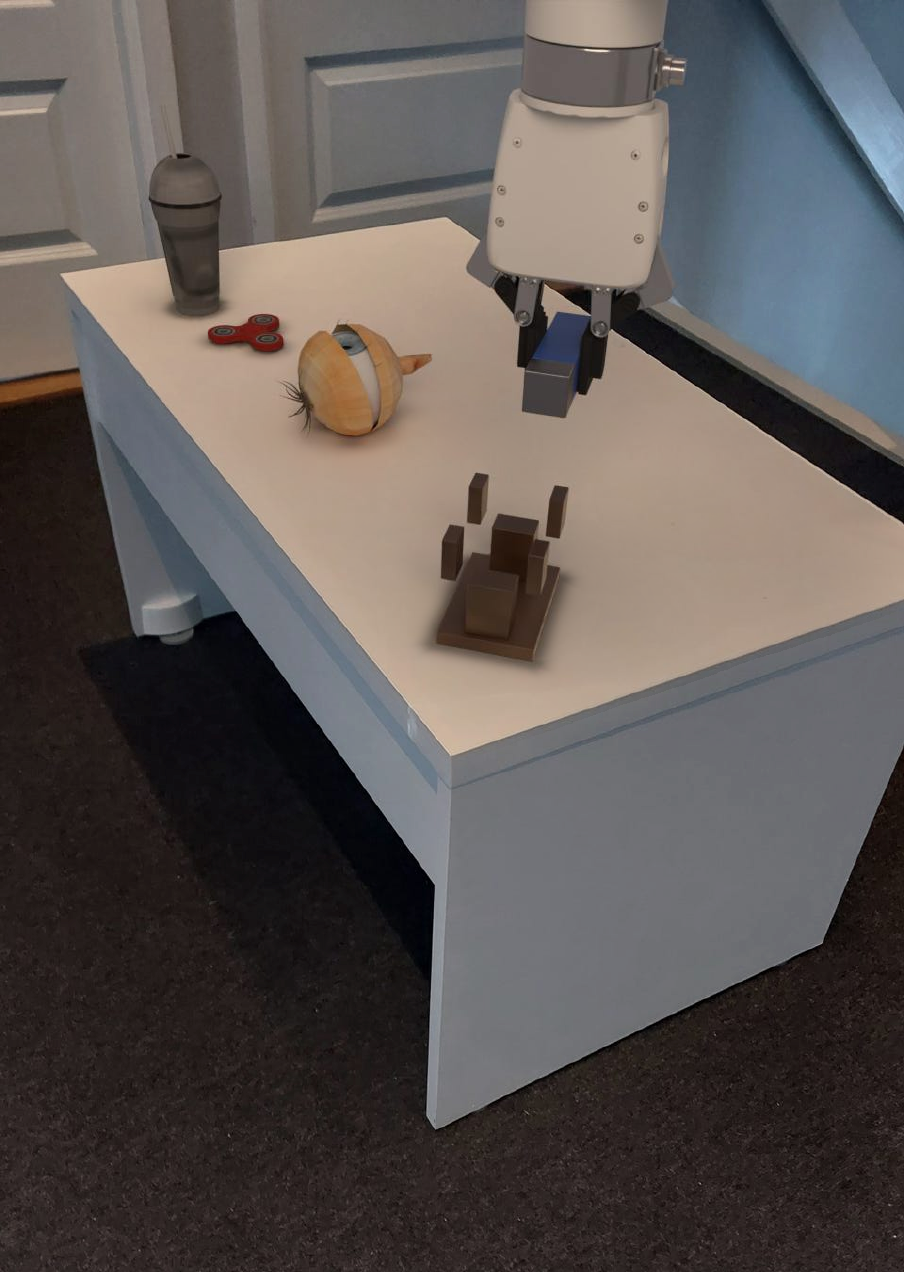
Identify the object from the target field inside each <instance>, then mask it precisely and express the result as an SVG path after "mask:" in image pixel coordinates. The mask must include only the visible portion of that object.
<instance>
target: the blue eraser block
mask: <svg viewBox="0 0 904 1272" xmlns="http://www.w3.org/2000/svg"><path fill="white" fill-rule="evenodd" d="M590 317H591V315H586V314H579V313H572V312H565V311H556V313H555V314H554V316H553V318H552V320H551V322H550V324H549V325H548V326H547V332H546V334H545V336H544V337H543V339H542V341H541V343H540V345H539V347H538V348H537V349H536V351H535V353H534V355H533V357H532V359H531V361H530V363H529V364H528V366H527V368H526V370H525V369H524V372H525V375H524V374H523V390H522V401H521V412H522V413H526V414H533V415H539V416H546V417H553V418H558V419H566V417H567V415H568V413H569V411H570V409H571V407H572V404H573V402H574V400H575V397H576V395H577V394H578V392H576V388H577V379H578V370H579V361H580V354H579V353H580V344H581V338H582V335H583V333H584V331H585V329H586V327H587V324H588V321H589V319H590Z"/></svg>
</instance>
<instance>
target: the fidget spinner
mask: <svg viewBox="0 0 904 1272" xmlns="http://www.w3.org/2000/svg"><path fill="white" fill-rule="evenodd" d="M278 328H280V319H279V317H278V316H277V315H274V314H271V313H258V314H253V315H251V316H249V317H248V318H247V322H245V323H243V324H242V325H231V324H230V325H229V324H220V325H214V326H212V327H210V328H209V329H208V330H207V338H208V340H209V341H210V342H212V343H215V344H230V343H234V342H245V343H249V344H250V345H251V347H252V348H253V349H255V350H258V351H263V352H270V351H276V350H280V349H281V348H283V346H284V343H285V341H284V337H283V336H282V334H279V333H276V332H272V331H274V330H276V329H278Z"/></svg>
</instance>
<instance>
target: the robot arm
mask: <svg viewBox="0 0 904 1272" xmlns="http://www.w3.org/2000/svg"><path fill="white" fill-rule="evenodd" d="M668 3H669V0H526V1H525V18H524V33H523V44H522V45H523V46H522V61H521V76H520V77H521V78H520V87H519V88H516V89H513V90H512V91H511V92H510V95H509V97H508V99H507V100H508V101H507V103H506V104H507V105H506V107H505V112H504V116H503V120H502V124H501V129H500V135H499V139H498V145H497V151H496V158H495V164H494V171H493V177H492V185H491V193H490V199H489V209H488V217H487V228H486V230H485V231H484V234H483V235H482V237H481V238H480V240H479V242H478V244H477V245H476V248H475V249H474V251H473V252H472V254H471V256H470V258H469V259H468V261H467V262H466V267H465V268H466V272H467V274H469V275H470V276H471V277H473V278H474V279H476V280H477V281H478V282H480V283H481V284H483V285H484V286H486V287H487V288H489V289H490V288H491V289H492V290H494V292H495V294H496V295H497V296H498V297H499V299H500V300H501V301H502V302H503V304H504V305H505V306H506V307H507V308H508V310H509V311H510V312H511V313H512V314H513V320H514V322H515V324H516V325H517V326H519V329H518V343H517V355H516V356H517V357H516V368H522V369H524V374H523V376H524V375H525V370H526V368H527V366H528V364H529V363H530V361H531V359H532V357H533V355H534V353H535V351H536V349H537V348H538V347H539V345H540V343H541V341H542V339H543V337H544V336H545V334H546V332H547V329H548V327H549V325H548V323H549V315H547V311H545V307H544V305H543V304H542V303H543V298H544V297H543V296H544V291H545V285H546V281H547V282H553V283H554V282H555V283H562V284H570V285H578V286H583V287H584V286H585V287H591V300H590V301H591V303H590V305H591V306H590V316H591V317H590V319H589V321H588V324H587V327H586V329H585V331H584V333H583V335H582V338H581V344H580V353H579V354H580V361H579V370H578V379H577V388H576V392H577V395H581V396H587V394H588V392H589V390H590V388H591V386H592V383H593V380H594V379H595V380H602V378H603V374H604V370H605V365H606V356H607V351H608V350H607V349H608V340H609V333H610V331H612V330H613V329H614V328H616V327H617V326H618V325H620V324H622V323H623V322H624V321H625V320H627V319H628V318H630V317H631V316H632V315H633V314H635V313H636V312H637V311H640V310H643V309H647V308H649V307H653V306H656V305H659V304H662V303H665V302H668V301H669V300H671V298H672V297H673V295H674V292H675V288H676V283H675V280H674V277H673V275H672V270H671V268H670V266H669V263H668V259H667V256H666V254H665V251H664V248H663V245H662V241H661V238H662V230H663V224H664V214H665V205H666V195H667V185H668V184H667V182H668V171H669V156H670V155H669V153H670V120H669V119H670V114H669V104H668V102H666V101H665V100H663V99H660V98H656V94H657V92H661V90H662V89H663V88H669V87H670V86H679V87H680V86H681V87H683V85H684V82H685V78H686V72H687V64H688V58H685V57H675V54H672V53H671V54H669V53H668V48H664V46H665V39H664V33H665V24H666V17H667V10H668ZM619 290H622V291H621V292H619V293H618V291H619Z"/></svg>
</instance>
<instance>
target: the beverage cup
mask: <svg viewBox="0 0 904 1272" xmlns="http://www.w3.org/2000/svg"><path fill="white" fill-rule="evenodd" d="M159 109H160V113H161V117H162V122H163V126H164V130H165V135H166V139H167V143H168V148H169V152H170V154H169V155H166V156H165V157H164V158H162V159H161V160H160V161H159V162H158V163H157V164H156V165H155V167H154V168H153V170H152V173H151V176H150V179H149V180H150V181H149V184H148V185H149V187H148V193H149V194H148V201H149V202H150V207H151V210H152V214H153V217H154V220H155V221H156V224H157V228H158V232H159V237H160V238H159V239H160V242H161V247H162V250H163V255H164V260H165V265H166V268H167V273H168V274H167V275H168V278H169V282H170V284H169V285H170V289H171V292H172V296H173V298H174V302H175V307H176V310H177V312H178V313H180V314H182V315H185V316H192V317H194V316H195V317H200V316H207V315H210V314H214V313H215V312H217V311H218V310H219V309H220V293H221V289H220V287H221V286H220V285H221V283H220V281H221V279H220V229H219V227H220V226H219V225H220V224H219V220H220V215H221V200H222V199H223V198H222V195H223V194H222V192H221V190H220V185H219V182H218V179H217V177H216V175H215V173H214V171H213V170H212V168H211V167H210V166H209V165H208V164H207V162H205V161H203V160H202V158H200V157H198V156H196V155H195V154H191V153H187V152H177V150H176V147H175V143H174V139H173V138H174V137H173V135H172V130H171V125H170V122H169V117H168V113H167V108H166V105H165V104H162V105H161V104H160V105H159Z"/></svg>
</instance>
